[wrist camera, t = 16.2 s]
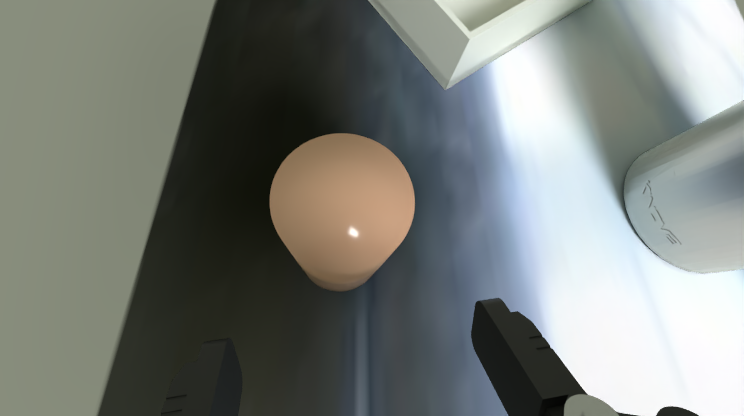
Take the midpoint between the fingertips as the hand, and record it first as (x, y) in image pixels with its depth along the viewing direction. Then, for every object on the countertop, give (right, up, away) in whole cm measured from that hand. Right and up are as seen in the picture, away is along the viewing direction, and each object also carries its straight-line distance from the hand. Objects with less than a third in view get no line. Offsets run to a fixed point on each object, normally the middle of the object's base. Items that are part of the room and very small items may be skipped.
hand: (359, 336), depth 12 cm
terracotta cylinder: (-2, +2, +10) cm, 10 cm away
